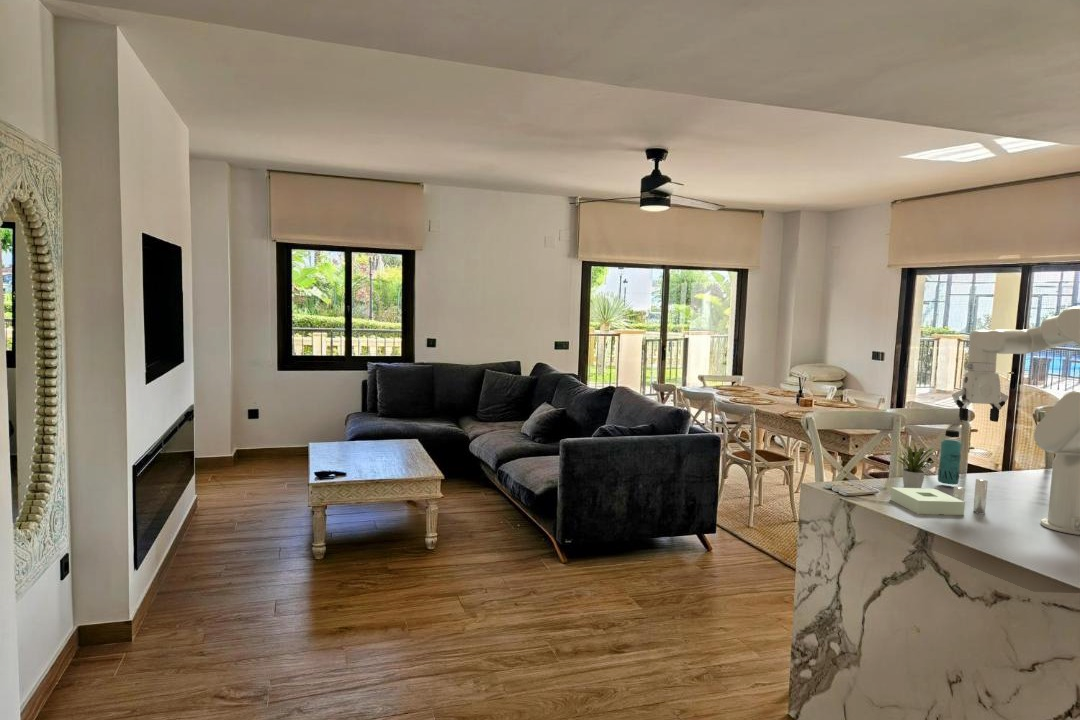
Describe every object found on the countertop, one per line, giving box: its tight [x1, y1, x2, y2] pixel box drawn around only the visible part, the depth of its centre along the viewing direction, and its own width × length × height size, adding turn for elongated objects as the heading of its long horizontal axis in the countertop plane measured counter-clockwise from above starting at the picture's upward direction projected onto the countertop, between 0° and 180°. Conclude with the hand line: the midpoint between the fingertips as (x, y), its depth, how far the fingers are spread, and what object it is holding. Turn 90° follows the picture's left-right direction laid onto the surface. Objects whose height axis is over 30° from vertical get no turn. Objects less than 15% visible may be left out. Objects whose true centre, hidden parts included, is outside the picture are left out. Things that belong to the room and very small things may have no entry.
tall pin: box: [972, 478, 989, 514], centre depth 201 cm, size 3×3×10 cm
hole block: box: [890, 487, 966, 516], centre depth 205 cm, size 15×14×4 cm
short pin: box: [952, 485, 966, 502], centre depth 211 cm, size 3×3×5 cm
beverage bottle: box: [937, 429, 963, 486], centre depth 232 cm, size 6×7×20 cm
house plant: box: [893, 441, 940, 488], centre depth 227 cm, size 14×14×16 cm
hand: (978, 420), depth 215 cm, fingers open, 9 cm apart
